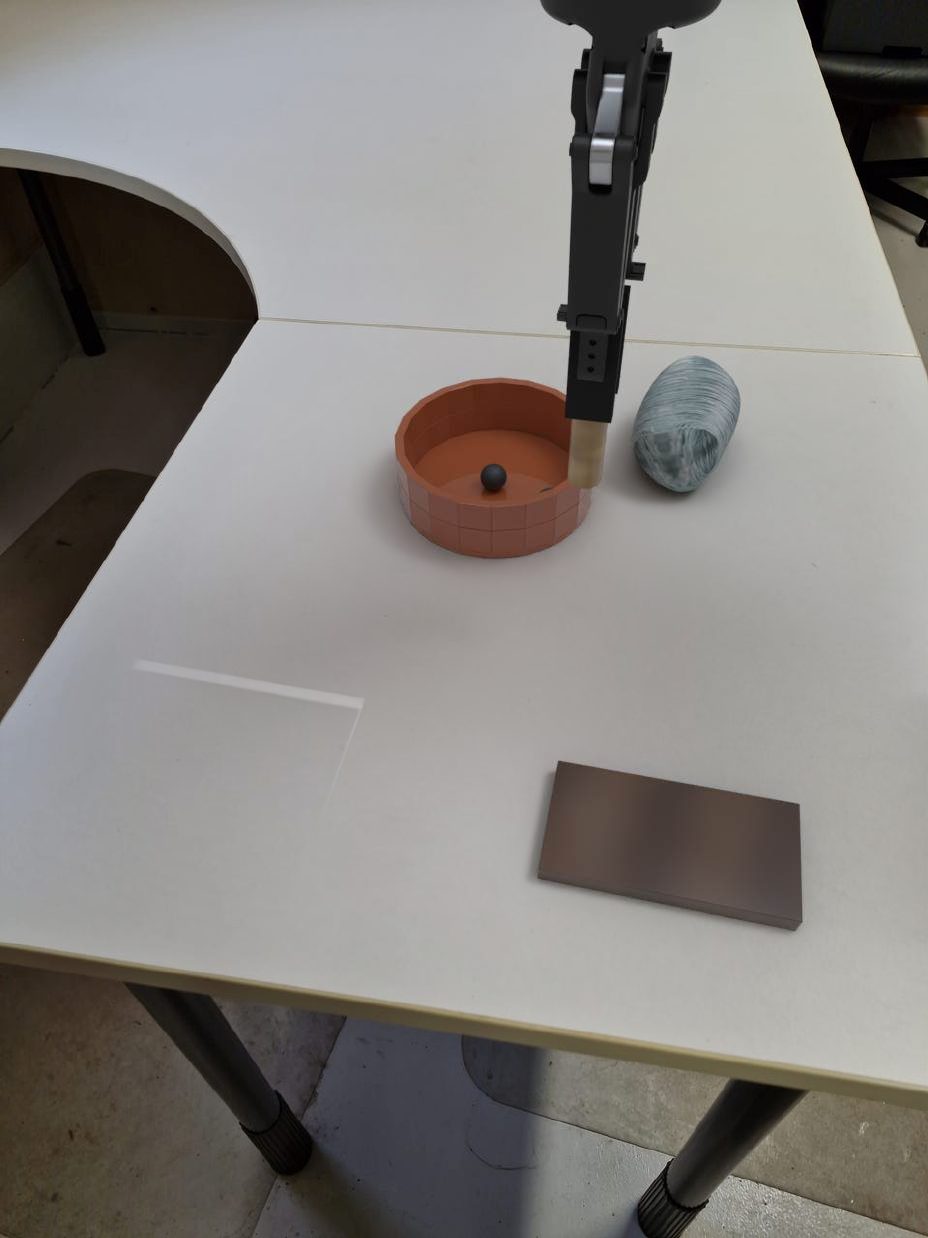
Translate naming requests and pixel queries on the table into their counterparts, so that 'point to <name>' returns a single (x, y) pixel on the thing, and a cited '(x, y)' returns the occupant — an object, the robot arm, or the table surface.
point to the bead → (493, 477)
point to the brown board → (675, 844)
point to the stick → (586, 453)
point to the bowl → (478, 436)
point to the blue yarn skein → (686, 423)
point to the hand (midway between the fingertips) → (592, 401)
